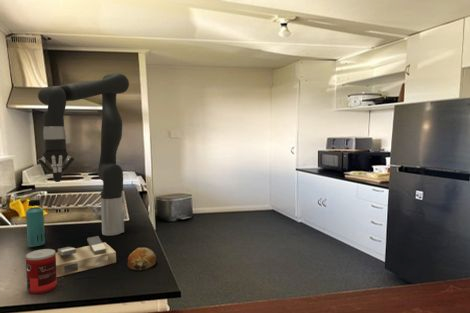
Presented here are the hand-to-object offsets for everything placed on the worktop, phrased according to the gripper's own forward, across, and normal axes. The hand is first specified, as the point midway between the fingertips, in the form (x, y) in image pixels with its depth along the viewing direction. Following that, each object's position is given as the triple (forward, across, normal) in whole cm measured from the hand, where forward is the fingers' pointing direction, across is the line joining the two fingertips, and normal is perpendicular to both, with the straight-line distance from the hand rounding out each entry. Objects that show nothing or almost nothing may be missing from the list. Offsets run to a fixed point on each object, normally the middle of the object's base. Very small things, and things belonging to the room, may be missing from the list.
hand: (57, 181), depth 127 cm
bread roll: (+29, -20, +34) cm, 49 cm away
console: (+28, -3, +19) cm, 34 cm away
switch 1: (+24, +2, +19) cm, 31 cm away
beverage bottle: (+28, +7, -11) cm, 31 cm away
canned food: (+28, +11, +31) cm, 43 cm away
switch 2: (+24, -8, +19) cm, 32 cm away
